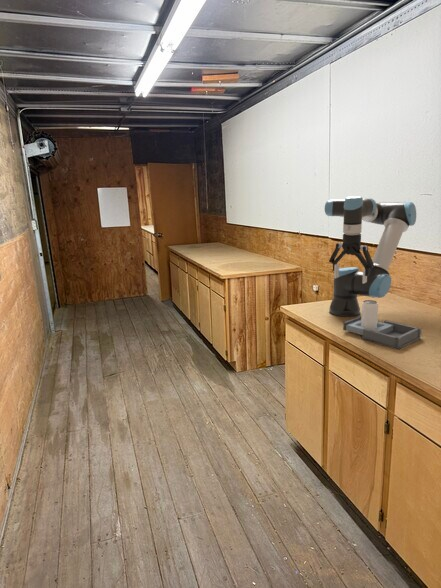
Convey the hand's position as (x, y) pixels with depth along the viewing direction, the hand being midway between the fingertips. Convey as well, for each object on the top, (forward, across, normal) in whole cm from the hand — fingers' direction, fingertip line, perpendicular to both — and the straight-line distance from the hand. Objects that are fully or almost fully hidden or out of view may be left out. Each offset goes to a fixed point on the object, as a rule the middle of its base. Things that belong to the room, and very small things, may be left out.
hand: (350, 280), depth 176 cm
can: (+19, +12, -5) cm, 23 cm away
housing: (+20, +23, -7) cm, 31 cm away
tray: (+19, +12, -5) cm, 24 cm away
